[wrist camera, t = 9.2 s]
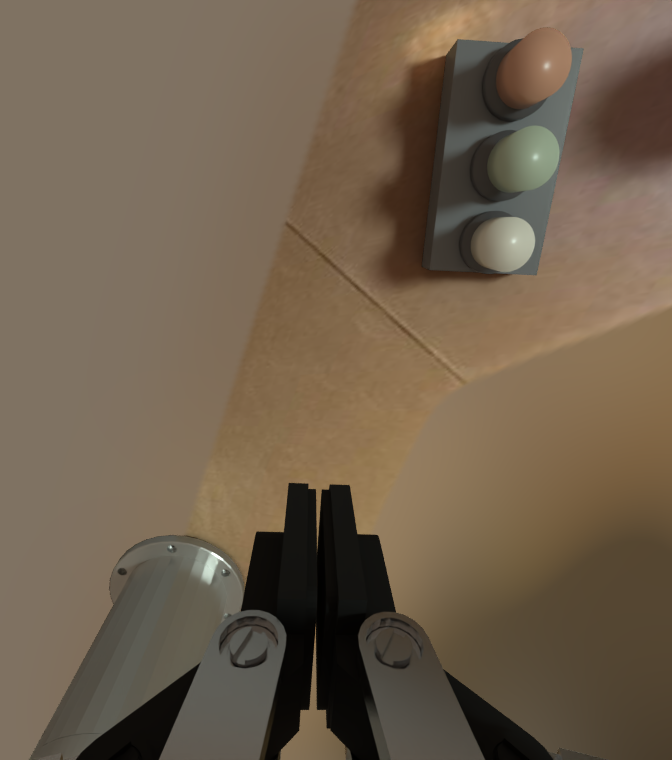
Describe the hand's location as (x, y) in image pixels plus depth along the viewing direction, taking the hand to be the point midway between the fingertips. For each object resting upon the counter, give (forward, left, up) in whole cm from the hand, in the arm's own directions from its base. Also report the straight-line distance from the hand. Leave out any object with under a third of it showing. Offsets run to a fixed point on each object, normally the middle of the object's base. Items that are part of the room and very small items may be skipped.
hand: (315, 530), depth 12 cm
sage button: (+12, -11, -19) cm, 25 cm away
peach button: (+16, -11, -19) cm, 28 cm away
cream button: (+7, -11, -19) cm, 24 cm away
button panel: (+12, -11, -23) cm, 28 cm away
